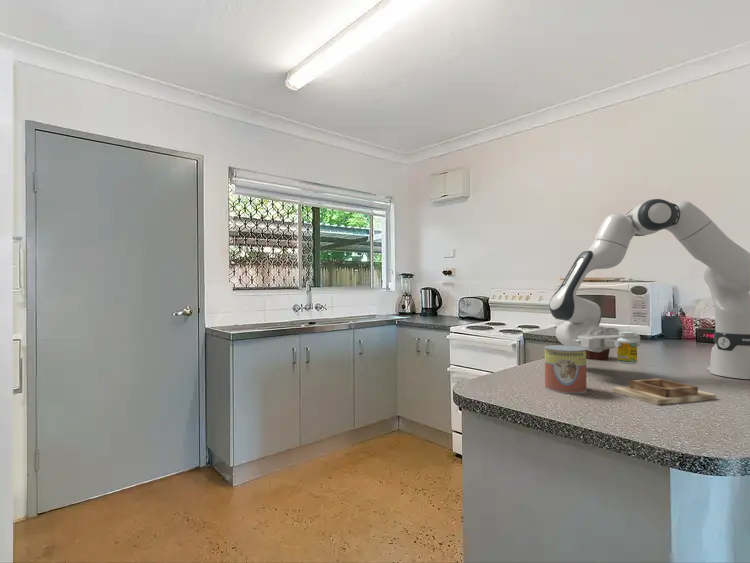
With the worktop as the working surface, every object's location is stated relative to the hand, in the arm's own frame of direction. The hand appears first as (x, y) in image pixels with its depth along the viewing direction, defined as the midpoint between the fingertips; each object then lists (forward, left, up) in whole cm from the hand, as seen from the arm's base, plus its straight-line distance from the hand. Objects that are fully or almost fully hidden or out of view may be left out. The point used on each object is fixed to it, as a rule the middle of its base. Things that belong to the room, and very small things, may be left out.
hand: (629, 343), depth 131 cm
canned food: (+23, 0, -13) cm, 26 cm away
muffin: (-25, -40, -12) cm, 49 cm away
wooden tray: (+3, +14, -12) cm, 19 cm away
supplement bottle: (0, -1, -6) cm, 6 cm away
